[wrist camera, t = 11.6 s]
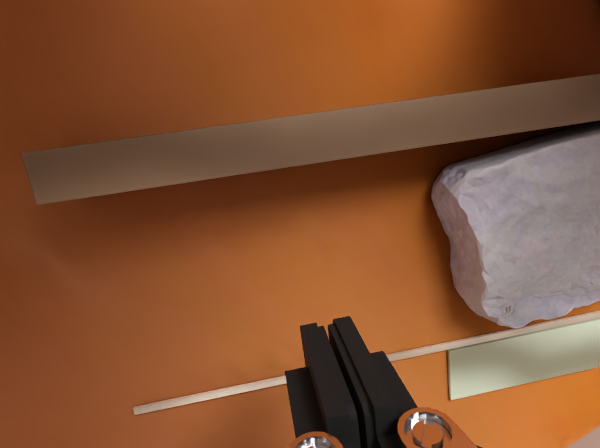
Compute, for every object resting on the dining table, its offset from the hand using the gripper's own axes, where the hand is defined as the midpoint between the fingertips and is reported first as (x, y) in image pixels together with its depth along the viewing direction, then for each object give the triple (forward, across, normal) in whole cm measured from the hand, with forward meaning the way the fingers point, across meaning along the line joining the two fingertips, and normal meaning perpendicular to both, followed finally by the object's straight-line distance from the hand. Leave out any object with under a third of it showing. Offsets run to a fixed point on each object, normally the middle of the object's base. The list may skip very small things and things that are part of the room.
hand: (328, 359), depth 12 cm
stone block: (+8, -14, 0) cm, 16 cm away
